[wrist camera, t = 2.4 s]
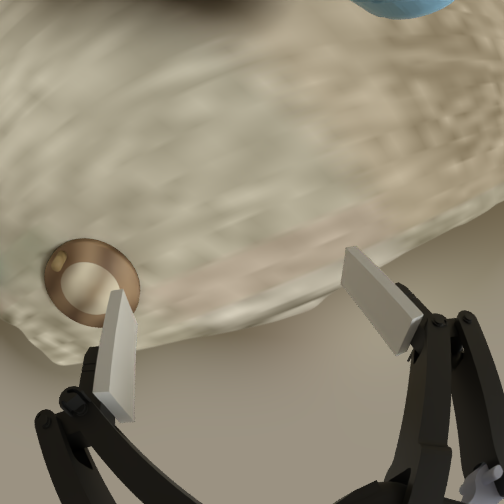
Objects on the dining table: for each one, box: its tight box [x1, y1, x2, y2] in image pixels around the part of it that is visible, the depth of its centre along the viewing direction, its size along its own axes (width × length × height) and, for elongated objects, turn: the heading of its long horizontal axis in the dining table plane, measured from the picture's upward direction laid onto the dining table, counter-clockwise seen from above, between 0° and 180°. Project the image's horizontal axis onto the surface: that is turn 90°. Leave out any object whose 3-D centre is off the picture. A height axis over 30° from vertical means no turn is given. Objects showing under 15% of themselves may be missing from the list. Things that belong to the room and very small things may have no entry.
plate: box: [45, 238, 140, 328], centre depth 37 cm, size 16×16×4 cm
